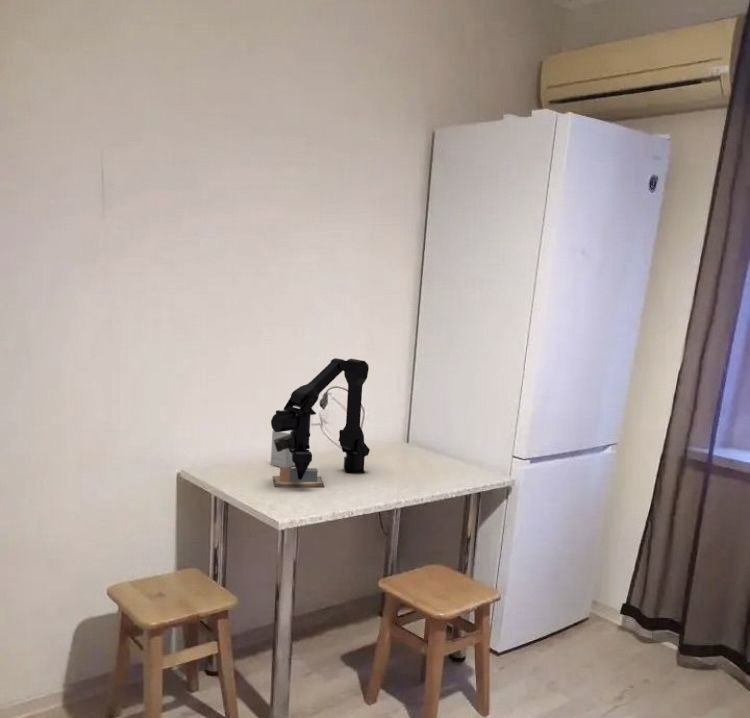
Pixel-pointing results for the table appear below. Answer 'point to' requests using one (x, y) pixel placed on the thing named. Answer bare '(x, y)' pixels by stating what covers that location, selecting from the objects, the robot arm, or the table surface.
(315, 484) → the writing board
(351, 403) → the robot arm
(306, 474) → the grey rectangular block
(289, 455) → the supplement box
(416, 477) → the table surface
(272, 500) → the table surface
